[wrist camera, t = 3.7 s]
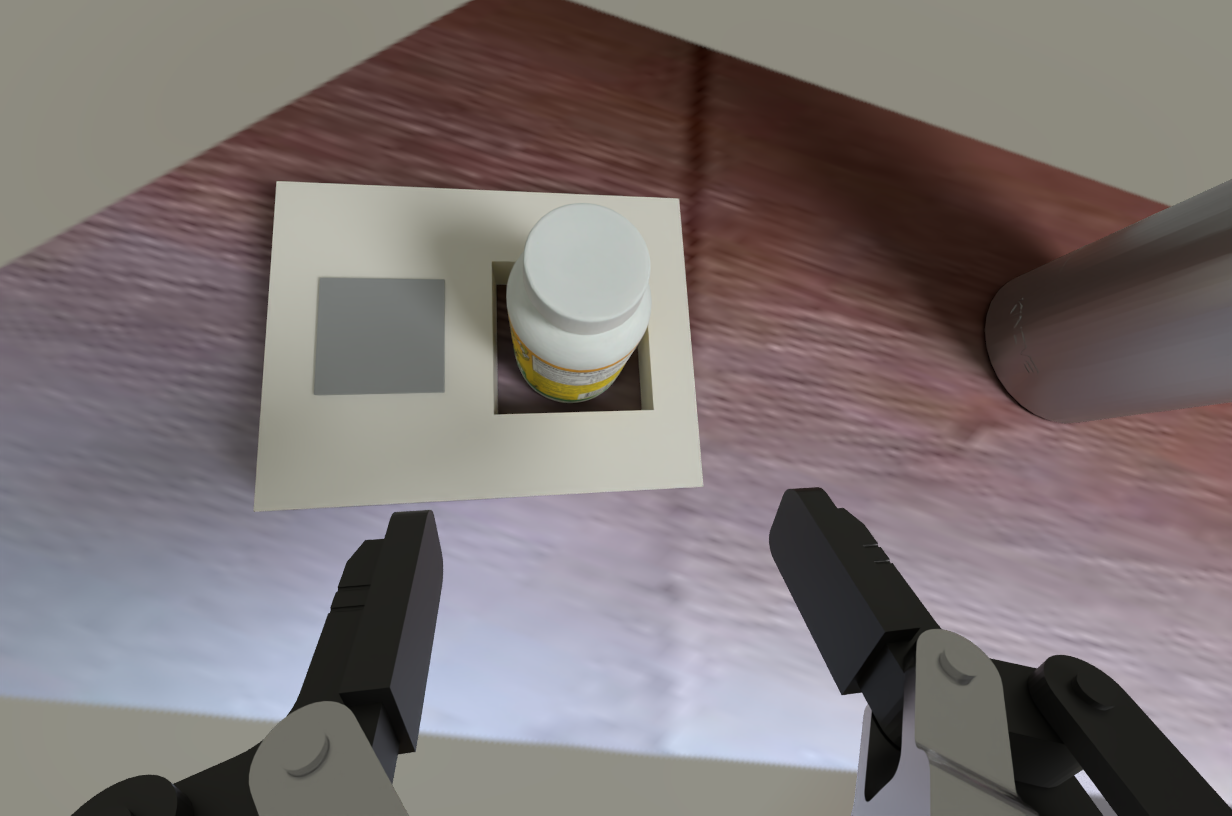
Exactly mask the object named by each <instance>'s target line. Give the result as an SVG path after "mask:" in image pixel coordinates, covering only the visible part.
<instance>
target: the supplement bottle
mask: <svg viewBox="0 0 1232 816" xmlns="http://www.w3.org/2000/svg"><path fill="white" fill-rule="evenodd" d="M649 278H650V257H649V252H648V249H647V246H646V243H645V241H644V239H643V238H642V236H641V234H640V233H639V231H638V230H637V229H636V228H635V226H634V225H633V224H632V223H631V222H630V221H629V220H627V219H626V218H625V217H623V216H622V215H621V214H619V213H617V212H616V211H614V210H612V209H609V208H607V207H604V206H601V205H596V204H591V203H574V204H568V205H564V206H560V207H558V208H556V209H553V210H552V211H550V212H549V213H547V214H546V215H544V216H543V217H542V218H541V219H540V220H539V221H538V222H537V223H536V224H535V225H534V227H533V228H532V230H531V231H530V233H529V235H528V237H527V240H526V243H525V247H524V251H523V253H522V254H521V255H520V256H519V258H518V259H517V261H516V262H515V264H514V266H513V268H512V271H511V273H510V276H509V280H508V284H507V293H506V300H507V310H508V317H509V322H510V328H511V334H512V341H513V347H514V353H515V357H516V361H517V364H518V367H519V369H520V371H521V373H522V375H523V377H524V378H525V380H526V381H527V383H528V384H529V385H530V386H531V387H532V388H533V389H534V390H535V391H536V392H538V393H539V394H541V395H542V396H544V397H546V398H548V399H551V400H554V401H558V402H563V403H578V402H583V401H587V400H590V399H592V398H595V397H597V396H598V395H600V394H601V393H603V392H604V391H605V390H607V389H608V388H609V387H610V386H611V385H612V383H613V382H614V381H615V379H616V378H617V377H618V375H619V374H620V372H621V370H622V369H623V367H624V365H625V364H626V362H627V360H628V359H629V357H630V356H631V354H632V353H633V351H634V350H635V348H636V347H637V345H638V344H639V342H640V340H641V338H642V337H643V335H644V333H645V331H646V328H647V326H648V323H649V319H650V315H651V304H652V299H651V290H650V286H649Z"/></svg>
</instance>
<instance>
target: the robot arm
mask: <svg viewBox="0 0 1232 816" xmlns="http://www.w3.org/2000/svg"><path fill="white" fill-rule="evenodd" d="M985 336H986V347H987V350H988V354H989V357H990V361H991V364H992V366H993V368H994V370H995V372H996V374H997V376H998V378H999V380H1000V381H1001V383H1002V384H1003V385H1004V387H1005V388H1006V390H1007V391H1008V392H1009V394H1010V395H1012V396H1013V397H1014V398H1015V399H1016V400H1017V401H1018V402H1019V403H1020V404H1021V405H1022V406H1023V407H1025V408H1026V409H1028V410H1029V411H1031V412H1032V413H1034V414H1035V415H1037V416H1040V417H1042V418H1044V419H1047V420H1049V421H1054V422H1059V423H1080V422H1087V421H1094V420H1102V419H1109V418H1116V417H1124V416H1131V415H1138V414H1146V413H1153V412H1163V411H1170V410H1178V409H1185V408H1192V407H1199V406H1207V405H1214V404H1221V403H1229V402H1232V179H1231V180H1228V181H1226V182H1224V183H1222V184H1220V185H1218V186H1215V187H1213V188H1211V189H1209V190H1207V191H1204V192H1202V193H1200V194H1198V195H1196V196H1193V197H1192V198H1189V199H1187V200H1185V201H1183V202H1180V203H1178V204H1176V205H1174V206H1172V207H1169V208H1167V209H1165V210H1163V211H1161V212H1158V213H1156V214H1154V215H1152V216H1150V217H1148V218H1145V219H1143V220H1141V221H1139V222H1137V223H1134V224H1132V225H1130V226H1128V227H1126V228H1124V229H1121V230H1119V231H1117V232H1115V233H1113V234H1110V235H1108V236H1106V237H1104V238H1102V239H1100V240H1097V241H1095V242H1093V243H1091V244H1088V245H1086V246H1084V247H1081V248H1079V249H1077V250H1075V251H1073V252H1071V253H1068V254H1066V255H1064V256H1062V257H1060V258H1058V259H1055V260H1053V261H1051V262H1049V263H1047V264H1045V265H1042V266H1040V267H1038V268H1036V269H1034V270H1032V271H1029V272H1027V273H1025V274H1023V275H1021V276H1019V277H1017V278H1015V279H1013V280H1011V281H1009V282H1007V283H1006V284H1005V285H1004V286H1003V287H1002V288H1001V289H1000V290H999V291H998V292H997V294H996V295H995V297H994V298H993V300H992V301H991V304H990V307H989V310H988V313H987V316H986V326H985ZM769 545H770V551H771V554H772V557H773V559H774V561H775V563H776V565H777V567H778V569H779V571H780V573H781V575H782V577H783V579H784V581H785V583H786V585H787V587H788V589H789V591H790V593H791V595H792V597H793V599H794V601H795V603H796V605H797V607H798V609H799V611H800V613H801V615H802V617H803V619H804V621H805V623H806V625H807V627H808V629H809V631H810V633H811V635H812V637H813V639H814V641H815V643H816V645H817V647H818V649H819V651H820V653H821V655H822V657H823V659H824V661H825V663H826V665H827V667H828V669H829V671H830V673H831V675H832V677H833V679H834V681H835V683H836V685H837V687H838V689H839V691H840V693H841V695H847V694H854V693H861V692H862V693H863V695H864V697H865V699H866V701H867V703H868V704H867V706H866V708H865V711H864V716H863V726H862V735H861V745H860V754H859V764H858V773H857V782H856V792H855V801H854V806H853V810H852V814H851V816H1103V815H1102V813H1101V812H1100V811H1099V809H1098V808H1097V807H1096V805H1095V804H1094V802H1093V801H1092V800H1091V798H1090V797H1089V795H1088V794H1087V793H1086V791H1085V790H1084V788H1083V787H1082V786H1081V784H1080V783H1079V781H1078V780H1077V779H1076V777H1075V776H1074V775H1075V774H1077V773H1078V772H1080V771H1082V770H1084V771H1085V772H1086V774H1087V775H1088V776H1089V778H1090V779H1091V780H1092V782H1093V783H1094V784H1095V786H1096V787H1097V789H1098V790H1099V791H1100V793H1101V794H1102V795H1103V797H1104V798H1105V799H1106V801H1107V802H1108V803H1109V805H1110V806H1111V807H1112V809H1113V810H1114V811H1115V813H1116V814H1117V815H1118V816H1232V809H1231V808H1230V807H1229V806H1228V805H1227V804H1226V803H1225V801H1224V800H1223V799H1222V798H1221V797H1220V796H1219V795H1218V794H1217V793H1216V791H1215V790H1214V789H1213V788H1212V787H1211V786H1210V785H1209V784H1208V783H1207V781H1206V780H1205V779H1204V778H1203V777H1202V776H1201V775H1200V774H1199V773H1198V772H1197V770H1196V769H1195V768H1194V767H1193V766H1192V765H1191V764H1190V763H1189V762H1188V760H1187V759H1186V758H1185V757H1184V756H1183V755H1182V754H1181V753H1180V752H1179V750H1178V749H1177V748H1176V747H1175V746H1174V745H1173V744H1172V743H1171V742H1170V740H1169V739H1168V738H1167V737H1166V736H1165V735H1164V734H1163V733H1162V732H1161V730H1160V729H1159V728H1158V727H1157V726H1156V725H1155V724H1154V723H1153V722H1152V720H1151V719H1150V718H1149V717H1148V716H1147V715H1146V714H1145V713H1144V712H1143V711H1142V709H1141V708H1140V707H1139V706H1138V705H1137V704H1136V703H1135V702H1134V701H1133V699H1132V698H1131V697H1130V696H1129V695H1128V694H1127V693H1126V692H1125V691H1124V690H1123V689H1122V688H1121V687H1120V685H1119V684H1117V683H1116V682H1115V681H1114V680H1113V679H1112V678H1111V677H1109V676H1108V675H1107V674H1105V673H1104V672H1102V671H1101V670H1099V669H1098V668H1096V667H1095V666H1093V665H1091V664H1089V663H1087V662H1085V661H1083V660H1080V659H1078V658H1075V657H1071V656H1066V655H1055V656H1051V657H1049V658H1048V659H1047V660H1046V661H1045V662H1044V663H1043V664H1041V665H1040V666H1039V667H1038V668H1032V667H1027V666H1023V665H1018V664H1013V663H1009V662H1004V661H1000V660H995V659H991V658H989V657H988V656H987V655H986V654H985V653H984V652H983V651H982V650H981V649H980V648H978V647H977V646H976V645H975V644H973V643H972V642H971V641H969V640H967V639H966V638H964V637H962V636H960V635H958V634H956V633H953V632H951V631H947V630H943V629H941V628H940V626H939V625H938V624H937V623H936V622H935V620H934V619H933V617H932V616H931V615H930V613H929V612H928V611H927V609H926V608H925V607H924V605H923V604H922V603H921V601H920V600H919V598H918V597H917V596H916V594H915V593H914V592H913V590H912V589H911V588H910V586H909V585H908V583H907V582H906V581H905V579H904V578H903V577H902V575H901V574H900V573H899V571H898V570H897V569H896V567H895V566H894V564H893V563H890V561H889V558H888V556H887V555H886V554H885V552H884V551H883V550H882V548H881V547H878V543H877V541H876V540H875V539H874V537H873V536H872V535H871V533H870V532H869V530H868V529H867V528H866V526H865V525H864V524H863V523H862V522H860V521H859V520H858V519H857V518H855V517H854V516H853V515H852V514H850V513H849V512H848V511H847V510H845V509H844V508H837V507H836V506H835V504H834V503H833V502H832V500H831V499H830V497H829V496H828V494H827V493H826V492H825V491H824V490H823V489H822V488H819V487H814V488H798V489H788V490H786V491H785V493H784V495H783V497H782V500H781V503H780V505H779V508H778V511H777V514H776V516H775V519H774V522H773V524H772V527H771V530H770V534H769ZM442 582H443V557H442V552H441V547H440V542H439V537H438V532H437V528H436V523H435V518H434V514H433V511H432V510H422V511H406V512H394V513H393V514H392V516H391V518H390V521H389V525H388V528H387V531H386V535H385V538H384V539H375V540H365V541H364V542H363V544H362V545H361V546H360V547H359V548H358V549H357V551H356V552H355V553H354V554H353V555H352V557H351V558H350V559H349V560H348V561H347V563H346V566H345V568H344V571H343V574H342V577H341V580H340V582H339V585H338V592H336V594H335V596H334V599H333V602H332V605H331V611H330V613H328V616H327V619H326V621H325V624H324V627H323V630H322V633H321V635H320V638H319V641H318V644H317V647H316V649H315V652H314V655H313V658H312V661H311V663H310V666H309V669H308V672H307V675H306V677H305V680H304V683H303V686H302V688H301V691H300V694H299V696H298V698H297V701H296V703H295V704H294V706H293V708H292V709H291V711H290V712H289V714H288V715H287V716H286V717H285V718H284V719H283V720H282V721H280V722H279V723H278V724H277V725H276V726H275V727H274V728H273V729H272V730H271V731H270V733H269V734H268V735H267V736H266V737H265V739H264V740H263V741H261V742H260V743H258V744H257V745H255V746H254V747H252V748H251V749H249V750H248V751H246V752H244V753H242V754H240V755H238V756H236V757H234V758H231V759H229V760H227V761H225V762H222V763H220V764H218V765H215V766H213V767H211V768H208V769H206V770H204V771H202V772H199V773H197V774H195V775H192V776H190V777H188V778H186V779H183V780H181V781H179V782H177V783H174V784H172V783H171V782H170V781H168V780H167V779H166V778H164V777H161V776H158V775H141V776H136V777H132V778H128V779H126V780H124V781H121V782H118V783H116V784H114V785H112V786H110V787H109V788H107V789H105V790H104V791H102V792H100V793H99V794H97V795H96V796H94V797H93V798H91V799H90V800H89V801H87V802H86V803H85V804H84V805H82V806H81V807H80V808H79V809H78V810H77V811H76V812H74V814H72V815H71V816H409V815H408V813H407V811H406V810H405V808H404V806H403V804H402V802H401V800H400V798H399V796H398V795H397V793H396V791H395V789H394V787H393V785H392V783H393V778H394V772H395V767H396V761H397V756H398V754H404V753H411V752H415V751H416V746H417V740H418V733H419V727H420V721H421V715H422V708H423V702H424V696H425V690H426V683H427V677H428V671H429V664H430V658H431V652H432V646H433V639H434V633H435V627H436V620H437V614H438V608H439V602H440V595H441V589H442Z"/></svg>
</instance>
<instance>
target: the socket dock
mask: <svg viewBox="0 0 1232 816" xmlns="http://www.w3.org/2000/svg"><path fill="white" fill-rule="evenodd" d="M574 203H591V204H596V205H601V206H604V207H607V208H609V209H612V210H614V211H616V212H617V213H619V214H621V215H622V216H623V217H625V218H626V219H627V220H629V221H630V222H631V223H632V224H633V225H634V226H635V228H636V229H637V230H638V231H639V233H640V234H641V236H642V238H643V239H644V241H645V243H646V246H647V249H648V252H649V257H650V278H649V286H650V290H651V299H652V304H651V315H650V319H649V323H648V326H647V328H646V331H645V333H644V335H643V337H642V338H641V340H640V342H639V344H638V359H639V375H640V390H641V405H642V410H637V411H603V412H568V413H533V414H499V415H498V362H497V292H496V285H507V284H508V280H509V276H510V273H511V271H512V268H513V266H514V264H515V262H516V261H517V259H518V258H519V256H520V255H521V254H522V253H523V251H524V247H525V243H526V240H527V237H528V235H529V233H530V231H531V230H532V228H533V227H534V225H535V224H536V223H537V222H538V221H539V220H540V219H541V218H542V217H543V216H544V215H546V214H547V213H549V212H550V211H552V210H553V209H556V208H558V207H560V206H564V205H568V204H574ZM687 487H703V477H702V466H701V454H700V442H699V430H698V418H697V407H696V395H695V383H694V371H693V359H692V347H691V336H690V324H689V312H688V300H687V288H686V277H685V265H684V253H683V241H682V229H681V218H680V206H679V199H675V198H652V197H629V196H606V195H583V194H560V193H537V192H514V191H491V190H468V189H445V188H422V187H399V186H376V185H353V184H329V183H306V182H283V181H277V184H276V198H275V212H274V227H273V241H272V255H271V270H270V284H269V298H268V312H267V327H266V341H265V355H264V370H263V384H262V398H261V413H260V427H259V441H258V455H257V470H256V484H255V498H254V512H257V511H275V510H294V509H311V508H329V507H347V506H365V505H383V504H401V503H419V502H437V501H455V500H472V499H490V498H508V497H526V496H544V495H562V494H580V493H598V492H616V491H634V490H651V489H669V488H687Z"/></svg>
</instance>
